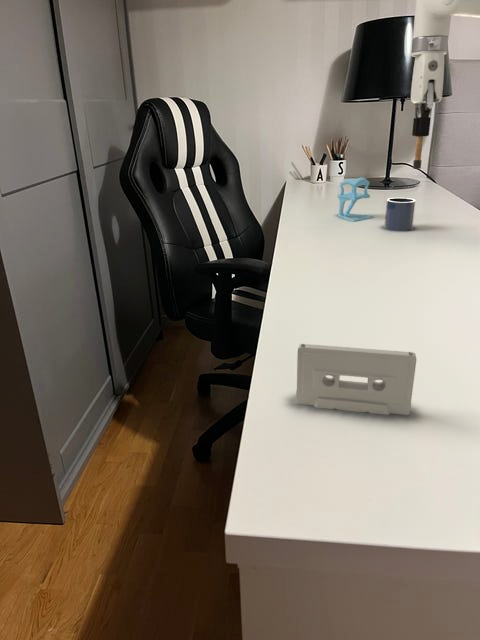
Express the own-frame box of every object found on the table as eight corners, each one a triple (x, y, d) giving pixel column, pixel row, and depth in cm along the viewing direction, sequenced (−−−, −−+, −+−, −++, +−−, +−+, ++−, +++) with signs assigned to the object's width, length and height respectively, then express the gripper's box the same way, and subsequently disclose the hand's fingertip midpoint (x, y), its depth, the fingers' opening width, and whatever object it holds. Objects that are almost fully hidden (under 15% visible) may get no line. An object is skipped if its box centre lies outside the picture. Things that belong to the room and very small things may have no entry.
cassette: (294, 411, 55) (296, 349, 52) (297, 402, 56) (298, 341, 53) (409, 423, 52) (418, 358, 49) (408, 414, 54) (416, 350, 51)
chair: (350, 215, 151) (352, 174, 146) (372, 219, 145) (375, 177, 140) (332, 219, 147) (334, 176, 142) (353, 223, 141) (356, 179, 136)
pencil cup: (408, 227, 134) (411, 197, 131) (414, 234, 128) (418, 202, 125) (381, 228, 135) (384, 197, 132) (386, 234, 128) (389, 202, 125)
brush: (419, 168, 122) (425, 110, 117) (421, 168, 120) (427, 110, 115) (412, 168, 122) (417, 110, 117) (413, 169, 120) (419, 110, 115)
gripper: (458, 42, 103) (446, 137, 111) (436, 51, 118) (427, 134, 125) (421, 44, 104) (411, 138, 111) (404, 52, 118) (397, 135, 126)
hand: (420, 135), depth 118 cm, fingers closed on brush, 1 cm apart
